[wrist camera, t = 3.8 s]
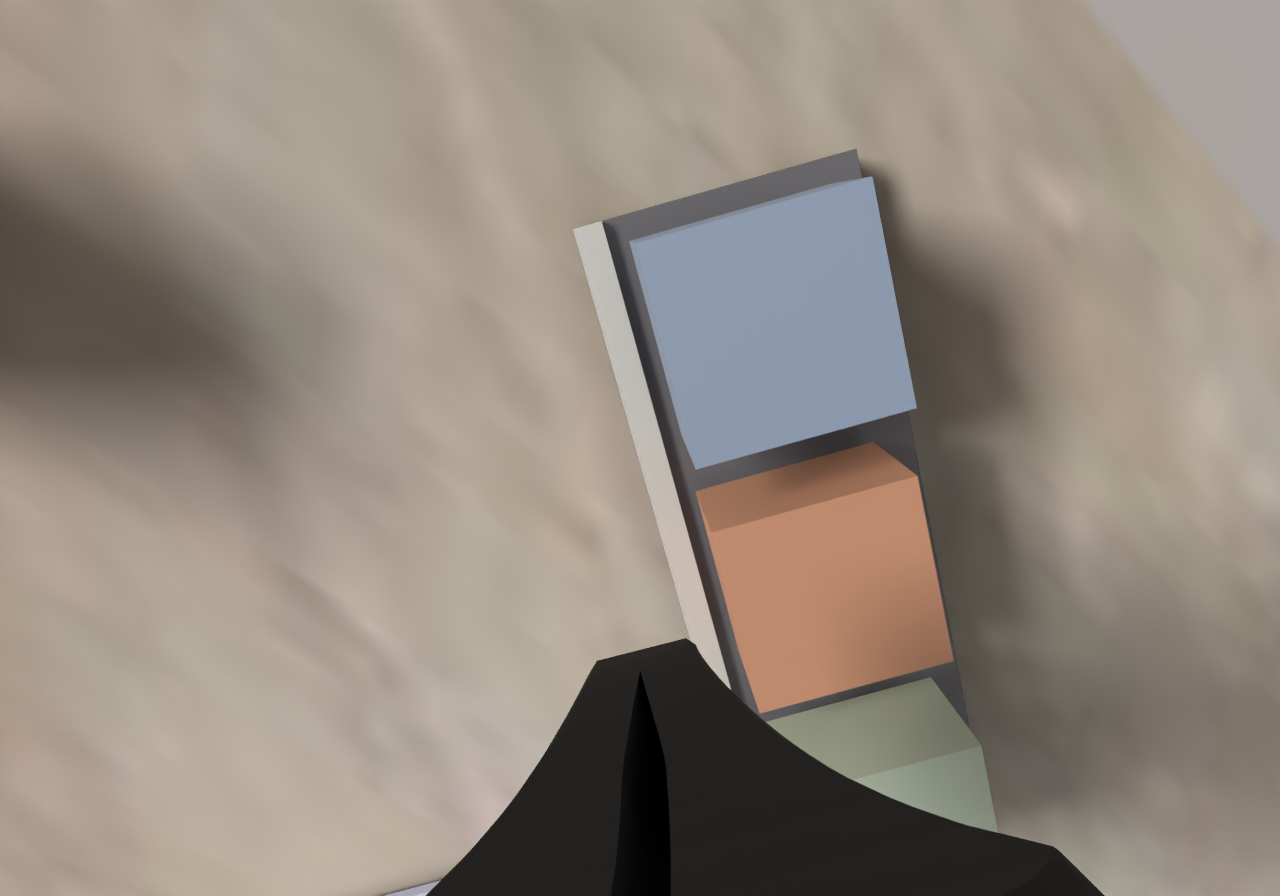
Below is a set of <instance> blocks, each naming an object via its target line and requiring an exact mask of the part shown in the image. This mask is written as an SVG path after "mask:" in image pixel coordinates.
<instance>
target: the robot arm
mask: <svg viewBox="0 0 1280 896" xmlns="http://www.w3.org/2000/svg"><path fill="white" fill-rule="evenodd" d="M385 896H1104V895H1103V894H1102V893H1101V892H1100V891H1099V890H1098V889H1097V888H1096V887H1095V886H1094V885H1093V884H1092V883H1091V882H1090V881H1089V880H1088V879H1087V878H1086V877H1085V876H1084V875H1083V874H1082V873H1081V872H1080V871H1079V870H1078V869H1077V868H1076V867H1075V866H1074V865H1073V864H1072V863H1071V862H1070V861H1069V860H1068V859H1067V858H1066V857H1065V856H1064V855H1063V854H1062V853H1061V852H1060V851H1059V850H1057V849H1056V848H1054V847H1053V846H1049V845H1045V844H1041V843H1037V842H1033V841H1029V840H1025V839H1021V838H1017V837H1013V836H1009V835H1005V834H1001V833H997V832H993V831H989V830H984V829H980V828H976V827H972V826H968V825H965V824H962V823H959V822H955V821H952V820H950V819H947V818H944V817H941V816H938V815H935V814H932V813H929V812H927V811H924V810H921V809H918V808H915V807H912V806H910V805H907V804H905V803H902V802H900V801H897V800H895V799H893V798H890V797H888V796H886V795H883V794H881V793H879V792H877V791H875V790H873V789H871V788H869V787H866V786H864V785H862V784H860V783H858V782H856V781H854V780H852V779H849V778H847V777H846V776H844V775H842V774H840V773H839V772H837V771H835V770H833V769H831V768H830V767H828V766H827V765H825V764H823V763H822V762H820V761H819V760H817V759H816V758H814V757H812V756H811V755H809V754H808V753H806V752H805V751H803V750H802V749H800V748H799V747H798V746H796V745H795V744H793V743H792V742H791V741H789V740H788V739H787V738H785V737H784V736H782V735H781V734H780V733H779V732H777V731H776V730H775V729H774V728H772V727H771V726H770V725H769V724H768V723H766V722H765V721H764V720H763V719H761V718H760V717H759V716H758V715H757V714H756V713H755V712H753V711H752V710H751V709H750V708H749V707H748V706H747V705H746V704H745V703H744V702H743V701H742V700H741V699H740V698H739V697H738V696H737V695H735V694H734V693H733V692H732V691H731V690H730V689H729V688H728V687H727V686H726V685H725V683H724V682H723V681H722V680H721V679H720V678H719V677H718V676H717V675H716V673H715V672H714V671H713V670H712V669H711V668H710V666H709V665H708V664H707V662H706V661H705V660H704V658H703V657H702V655H701V654H700V652H699V650H698V649H697V646H696V644H694V643H693V642H691V641H689V640H688V639H686V638H685V639H681V640H678V641H674V642H670V643H666V644H662V645H658V646H654V647H650V648H646V649H642V650H638V651H634V652H630V653H626V654H622V655H618V656H615V657H611V658H607V659H603V660H599V661H597V662H596V664H595V665H594V667H593V668H592V670H591V672H590V674H589V675H588V677H587V679H586V681H585V683H584V685H583V687H582V689H581V691H580V693H579V694H578V696H577V698H576V700H575V702H574V704H573V706H572V707H571V709H570V711H569V713H568V715H567V717H566V718H565V720H564V722H563V723H562V725H561V727H560V729H559V730H558V732H557V734H556V735H555V737H554V739H553V740H552V742H551V744H550V746H549V747H548V749H547V751H546V752H545V754H544V755H543V757H542V759H541V760H540V762H539V763H538V765H537V766H536V767H535V769H534V770H533V772H532V773H531V775H530V776H529V778H528V779H527V781H526V782H525V784H524V785H523V787H522V788H521V790H520V791H519V792H518V794H517V795H516V796H515V798H514V799H513V800H512V802H511V803H510V804H509V806H508V807H507V808H506V809H505V811H504V812H503V813H502V814H501V816H500V817H499V818H498V819H497V821H496V822H495V823H494V824H493V825H492V826H491V827H490V829H489V830H488V831H487V832H486V833H485V834H484V836H483V837H482V838H481V839H480V840H479V841H478V843H477V844H476V845H475V846H474V847H473V848H472V849H471V850H470V852H469V853H468V854H467V855H466V856H465V857H464V858H463V859H462V860H461V861H460V862H459V863H458V864H457V865H456V866H455V867H454V868H453V869H452V870H451V871H450V872H449V873H448V874H447V875H446V876H445V877H444V878H443V879H442V880H440V881H437V882H433V883H429V884H425V885H422V886H418V887H414V888H411V889H407V890H403V891H399V892H396V893H392V894H388V895H385Z"/></svg>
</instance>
